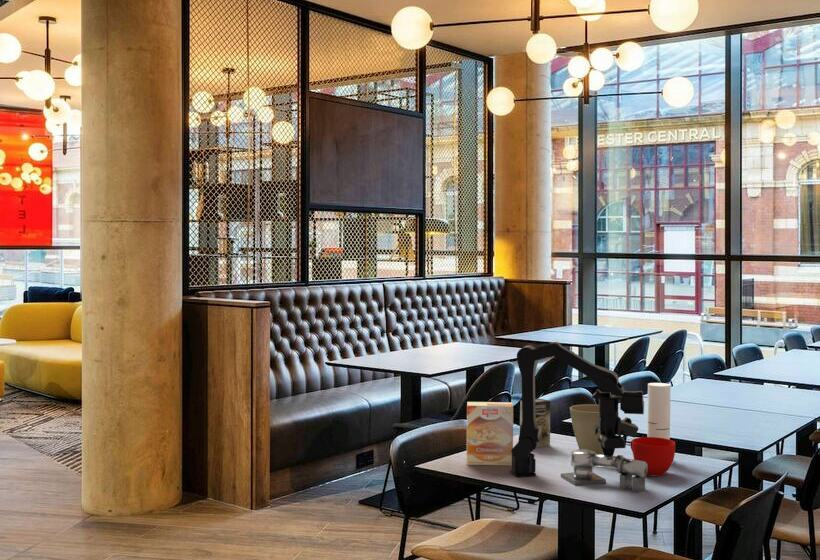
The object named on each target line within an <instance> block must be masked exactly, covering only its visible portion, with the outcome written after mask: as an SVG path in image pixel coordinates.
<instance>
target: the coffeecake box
mask: <svg viewBox="0 0 820 560" xmlns="http://www.w3.org/2000/svg"><path fill="white" fill-rule="evenodd" d="M466 403H467V404H466V465H467V466H511V467H512V452H511V450H512V448H513V447H514V404H513V402H504V401H503V402H501V401H498V402H497V401H496V402H495V401H494V402H493V401H467V402H466Z"/></svg>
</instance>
